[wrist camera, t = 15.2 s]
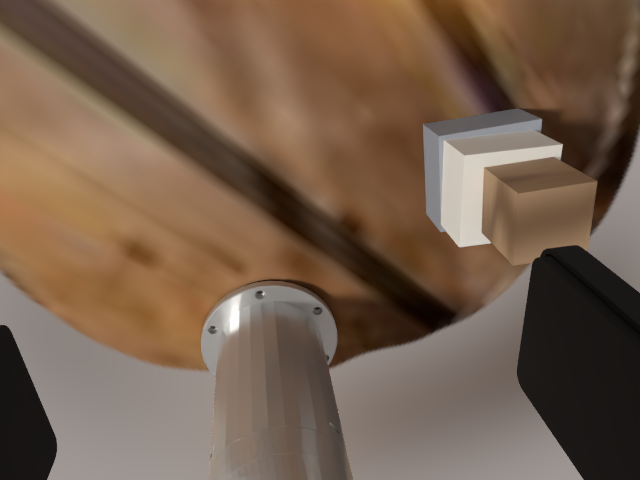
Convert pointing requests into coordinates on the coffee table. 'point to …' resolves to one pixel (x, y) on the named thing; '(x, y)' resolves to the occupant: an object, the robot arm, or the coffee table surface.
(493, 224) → the walnut cube
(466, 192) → the tower top
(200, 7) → the coffee table surface
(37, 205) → the coffee table surface
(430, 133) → the tower base
